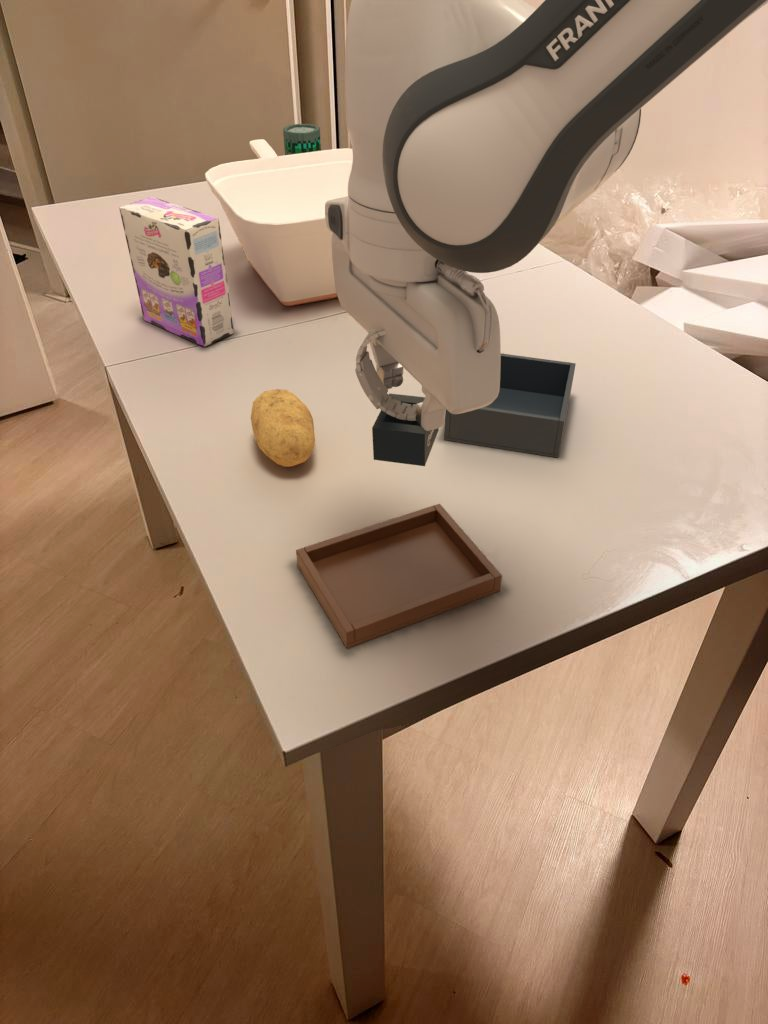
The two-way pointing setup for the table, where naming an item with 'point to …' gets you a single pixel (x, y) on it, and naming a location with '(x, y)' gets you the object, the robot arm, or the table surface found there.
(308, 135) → the can
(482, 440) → the bin
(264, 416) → the potato
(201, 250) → the candy box
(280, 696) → the table surface
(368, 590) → the tray
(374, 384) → the watch
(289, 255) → the pot
